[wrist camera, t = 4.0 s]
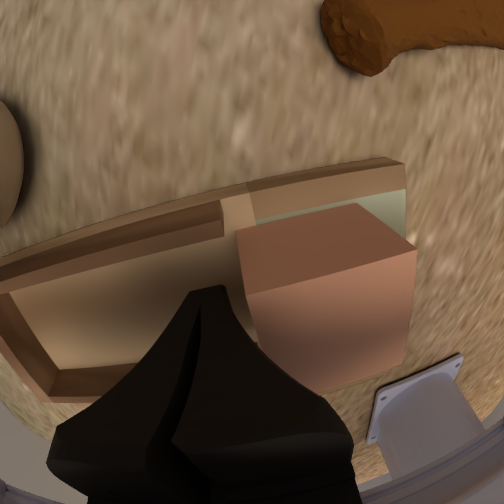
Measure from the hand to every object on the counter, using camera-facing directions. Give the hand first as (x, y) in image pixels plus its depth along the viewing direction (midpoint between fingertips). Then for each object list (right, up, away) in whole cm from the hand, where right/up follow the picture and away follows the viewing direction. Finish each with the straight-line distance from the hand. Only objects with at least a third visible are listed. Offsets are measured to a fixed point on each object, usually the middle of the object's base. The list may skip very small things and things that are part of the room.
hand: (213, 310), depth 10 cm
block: (+3, +1, +1) cm, 4 cm away
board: (-1, -1, +3) cm, 4 cm away
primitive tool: (+13, +15, -2) cm, 20 cm away
